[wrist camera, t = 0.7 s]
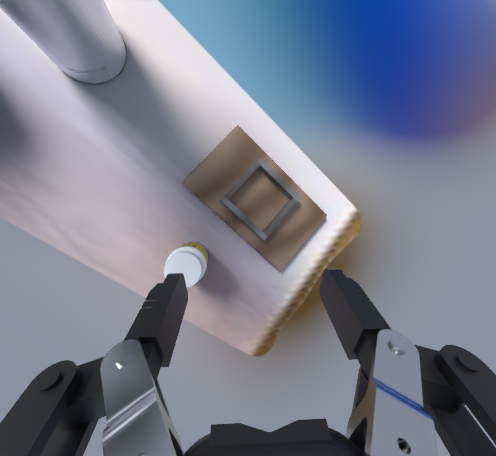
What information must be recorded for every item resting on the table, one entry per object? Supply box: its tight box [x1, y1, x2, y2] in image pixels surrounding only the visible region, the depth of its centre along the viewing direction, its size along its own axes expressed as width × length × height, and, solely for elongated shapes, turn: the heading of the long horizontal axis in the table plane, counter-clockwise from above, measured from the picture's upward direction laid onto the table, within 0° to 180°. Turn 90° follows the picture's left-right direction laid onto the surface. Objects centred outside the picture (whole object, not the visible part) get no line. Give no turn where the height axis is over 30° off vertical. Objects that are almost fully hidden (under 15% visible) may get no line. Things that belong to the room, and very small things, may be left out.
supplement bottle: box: [164, 242, 208, 288], centre depth 25 cm, size 5×5×8 cm
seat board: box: [182, 125, 327, 271], centre depth 29 cm, size 20×12×2 cm, turn 48°
